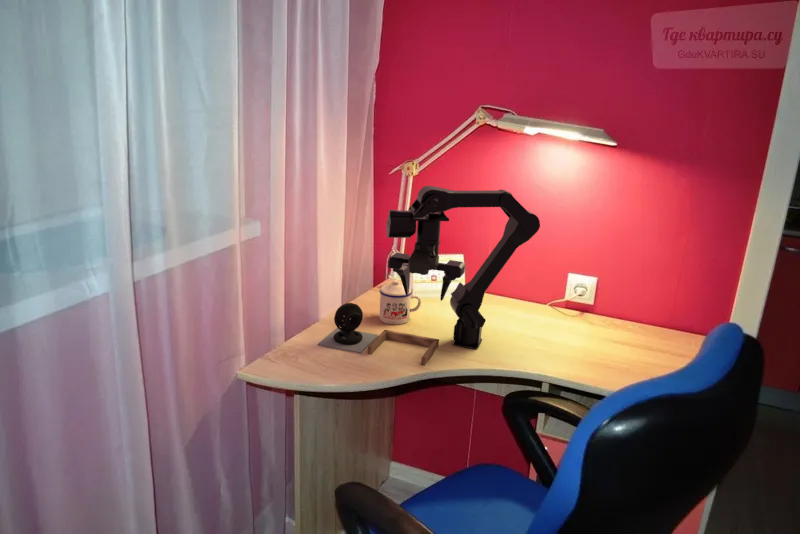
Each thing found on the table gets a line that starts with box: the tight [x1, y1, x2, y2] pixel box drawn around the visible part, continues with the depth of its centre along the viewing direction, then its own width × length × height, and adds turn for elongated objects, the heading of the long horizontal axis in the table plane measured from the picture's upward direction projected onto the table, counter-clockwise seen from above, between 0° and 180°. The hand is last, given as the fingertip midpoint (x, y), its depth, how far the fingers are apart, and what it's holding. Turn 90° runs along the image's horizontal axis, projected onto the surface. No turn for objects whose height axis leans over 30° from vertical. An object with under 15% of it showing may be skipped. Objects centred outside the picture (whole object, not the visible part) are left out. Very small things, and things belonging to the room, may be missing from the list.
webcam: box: [333, 302, 364, 345], centre depth 154 cm, size 8×8×10 cm
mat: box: [317, 327, 380, 355], centre depth 156 cm, size 12×12×1 cm
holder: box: [367, 329, 440, 366], centre depth 152 cm, size 15×12×2 cm
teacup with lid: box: [378, 279, 422, 325], centre depth 170 cm, size 12×9×12 cm
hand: (424, 297), depth 152 cm, fingers open, 9 cm apart
